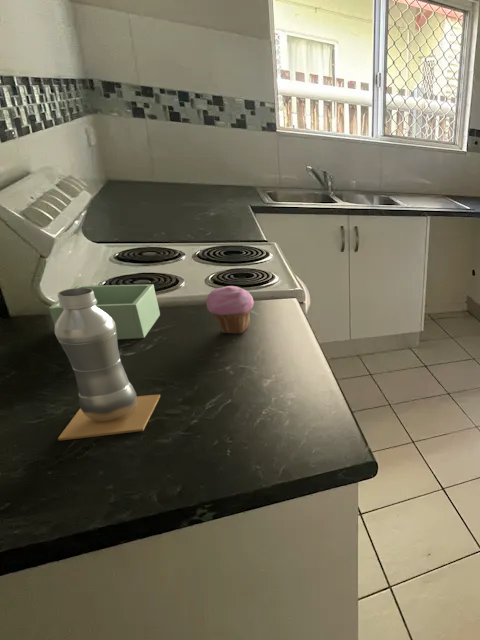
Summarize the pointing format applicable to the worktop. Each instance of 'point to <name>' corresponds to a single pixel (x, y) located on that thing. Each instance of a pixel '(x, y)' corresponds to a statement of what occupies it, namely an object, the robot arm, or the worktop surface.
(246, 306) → the cupcake
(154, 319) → the bin
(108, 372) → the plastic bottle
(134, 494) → the worktop surface
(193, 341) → the worktop surface
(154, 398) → the mat
